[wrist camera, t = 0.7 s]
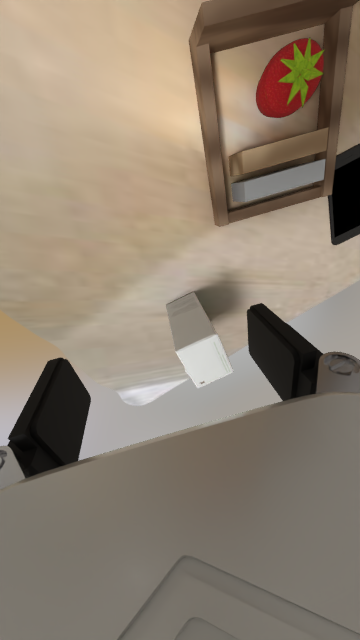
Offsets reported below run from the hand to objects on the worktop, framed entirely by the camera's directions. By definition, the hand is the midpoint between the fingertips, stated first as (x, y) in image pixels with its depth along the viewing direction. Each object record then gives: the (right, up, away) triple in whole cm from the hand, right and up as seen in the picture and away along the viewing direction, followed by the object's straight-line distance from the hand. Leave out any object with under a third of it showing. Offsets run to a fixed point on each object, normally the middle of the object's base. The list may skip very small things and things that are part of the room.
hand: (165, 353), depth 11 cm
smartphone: (+30, +23, +28) cm, 48 cm away
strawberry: (+12, +32, +19) cm, 39 cm away
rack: (+13, +29, +21) cm, 38 cm away
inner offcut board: (+14, +27, +22) cm, 38 cm away
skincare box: (+2, +3, +33) cm, 34 cm away
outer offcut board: (+15, +24, +24) cm, 37 cm away
